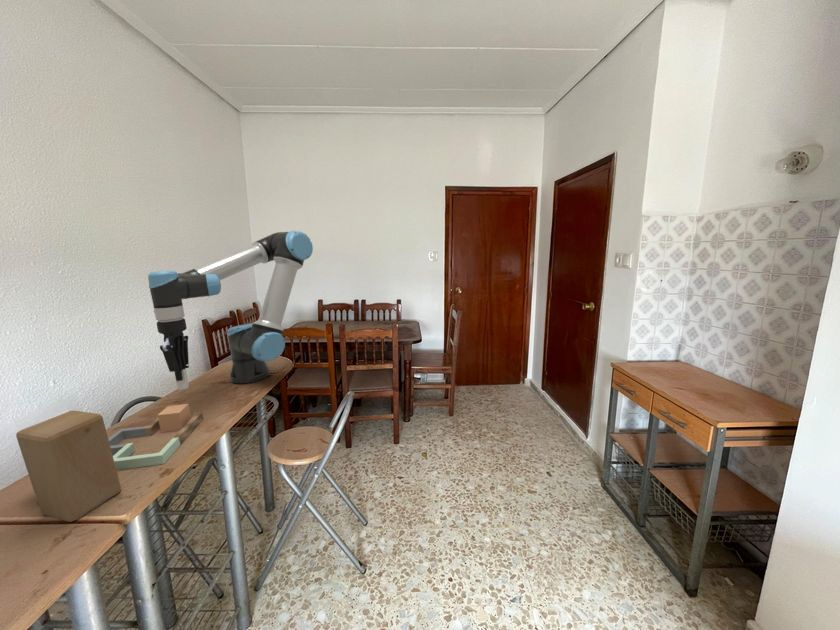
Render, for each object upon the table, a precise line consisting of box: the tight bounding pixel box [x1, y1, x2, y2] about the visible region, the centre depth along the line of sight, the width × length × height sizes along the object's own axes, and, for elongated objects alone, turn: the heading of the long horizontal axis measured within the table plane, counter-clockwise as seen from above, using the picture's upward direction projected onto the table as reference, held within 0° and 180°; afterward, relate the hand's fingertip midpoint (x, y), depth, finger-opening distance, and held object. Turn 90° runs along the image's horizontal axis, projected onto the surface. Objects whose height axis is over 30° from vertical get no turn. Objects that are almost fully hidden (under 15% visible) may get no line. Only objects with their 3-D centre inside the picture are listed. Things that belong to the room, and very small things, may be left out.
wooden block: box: [16, 410, 122, 523], centre depth 74 cm, size 10×10×20 cm
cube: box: [157, 403, 193, 434], centre depth 107 cm, size 6×6×6 cm
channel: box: [145, 411, 204, 446], centre depth 103 cm, size 15×13×2 cm
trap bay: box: [108, 425, 148, 456], centre depth 98 cm, size 11×8×2 cm
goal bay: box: [113, 437, 181, 471], centre depth 91 cm, size 8×13×2 cm, turn 100°
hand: (183, 388), depth 113 cm, fingers closed
